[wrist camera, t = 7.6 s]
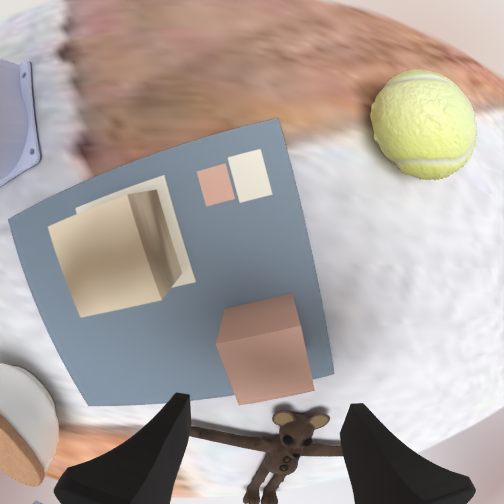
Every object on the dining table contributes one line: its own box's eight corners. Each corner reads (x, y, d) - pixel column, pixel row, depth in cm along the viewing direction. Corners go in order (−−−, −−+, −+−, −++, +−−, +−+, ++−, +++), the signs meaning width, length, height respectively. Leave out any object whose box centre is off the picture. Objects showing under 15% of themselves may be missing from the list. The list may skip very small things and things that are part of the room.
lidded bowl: (85, 393, 23) (30, 474, 13) (70, 449, 26) (34, 511, 15) (-8, 320, 22) (-77, 370, 11) (-7, 390, 25) (-53, 437, 14)
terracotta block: (224, 308, 20) (215, 343, 16) (292, 293, 20) (300, 325, 15) (242, 363, 21) (239, 405, 17) (305, 350, 21) (314, 390, 16)
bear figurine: (173, 494, 23) (183, 420, 18) (181, 464, 27) (194, 380, 22) (337, 510, 24) (408, 442, 19) (333, 482, 28) (395, 408, 23)
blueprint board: (12, 218, 19) (7, 219, 19) (277, 119, 18) (278, 117, 17) (90, 402, 24) (87, 406, 23) (332, 369, 22) (334, 374, 21)
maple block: (86, 215, 19) (47, 226, 14) (156, 189, 18) (127, 194, 14) (111, 290, 20) (80, 317, 15) (182, 273, 19) (161, 300, 15)
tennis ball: (507, 176, 11) (477, 54, 10) (402, 195, 13) (367, 59, 11) (457, 170, 18) (435, 79, 16) (373, 184, 19) (349, 88, 17)
